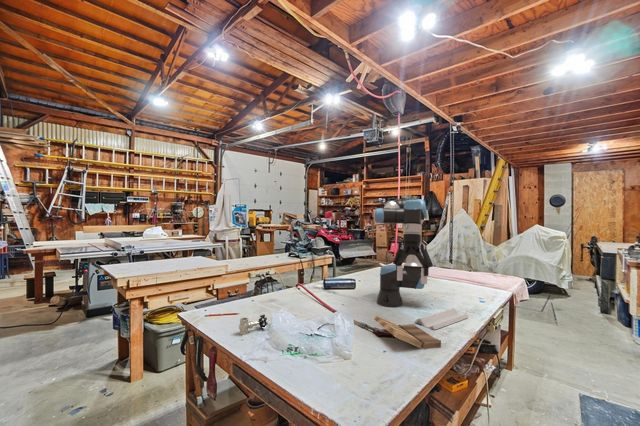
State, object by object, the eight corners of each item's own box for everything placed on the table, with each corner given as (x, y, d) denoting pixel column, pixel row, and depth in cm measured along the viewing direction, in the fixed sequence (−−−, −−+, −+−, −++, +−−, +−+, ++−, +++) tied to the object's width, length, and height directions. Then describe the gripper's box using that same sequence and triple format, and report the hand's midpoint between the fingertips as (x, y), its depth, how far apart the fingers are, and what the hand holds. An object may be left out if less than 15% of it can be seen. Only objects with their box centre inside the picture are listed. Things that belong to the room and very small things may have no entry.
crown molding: (434, 331, 133) (434, 324, 133) (412, 324, 143) (412, 316, 143) (468, 318, 151) (468, 312, 152) (447, 312, 161) (447, 306, 161)
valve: (242, 337, 121) (267, 331, 129) (242, 322, 121) (267, 316, 129) (236, 332, 126) (260, 326, 134) (236, 317, 127) (261, 312, 134)
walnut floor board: (398, 329, 133) (398, 324, 133) (413, 328, 135) (413, 323, 135) (423, 348, 114) (423, 343, 114) (440, 347, 116) (440, 341, 116)
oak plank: (373, 319, 130) (375, 315, 130) (395, 328, 133) (397, 324, 133) (395, 337, 111) (397, 332, 111) (420, 348, 113) (422, 343, 114)
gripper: (386, 234, 138) (384, 279, 134) (430, 232, 116) (429, 285, 113) (397, 235, 141) (396, 279, 138) (441, 233, 120) (441, 285, 117)
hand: (411, 282), depth 126 cm, fingers open, 13 cm apart
